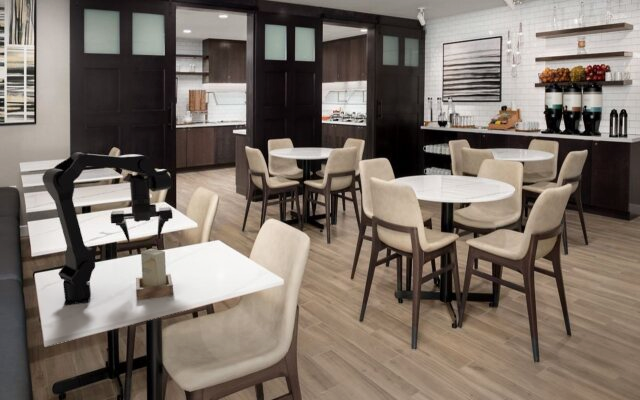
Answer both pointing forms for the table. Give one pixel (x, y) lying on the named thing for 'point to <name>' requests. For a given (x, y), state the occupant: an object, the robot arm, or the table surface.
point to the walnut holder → (154, 289)
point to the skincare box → (153, 268)
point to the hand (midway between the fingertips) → (143, 240)
